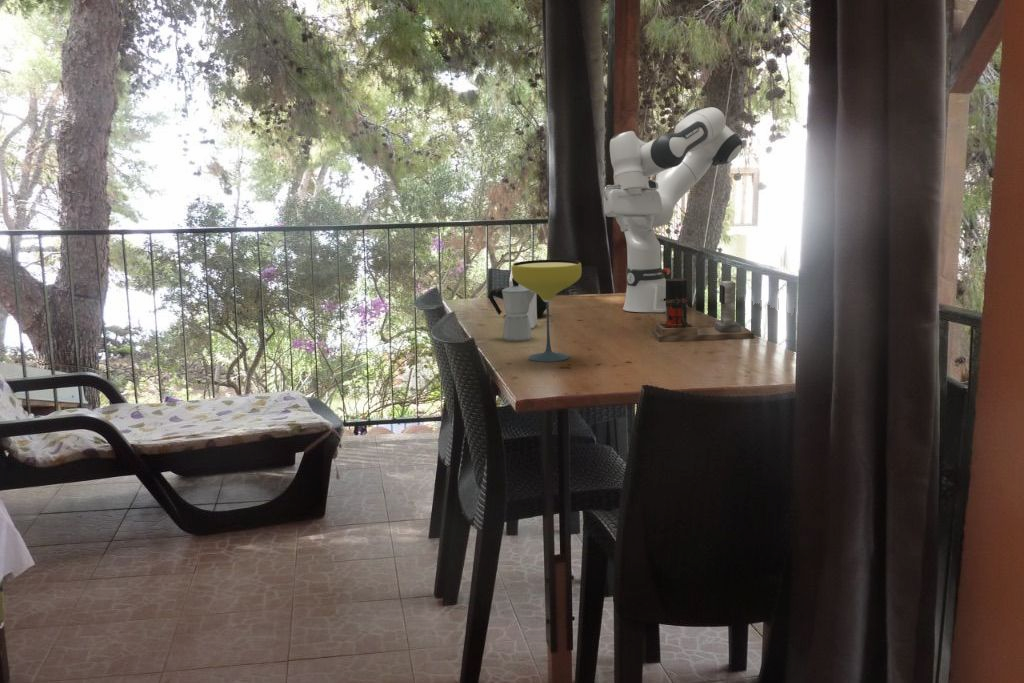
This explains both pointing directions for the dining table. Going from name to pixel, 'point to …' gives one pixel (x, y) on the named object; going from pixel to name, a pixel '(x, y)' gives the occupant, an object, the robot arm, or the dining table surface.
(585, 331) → the dining table surface
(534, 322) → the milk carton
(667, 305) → the deodorant
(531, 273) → the cocktail glass
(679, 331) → the wooden stand
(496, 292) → the coffee maker
